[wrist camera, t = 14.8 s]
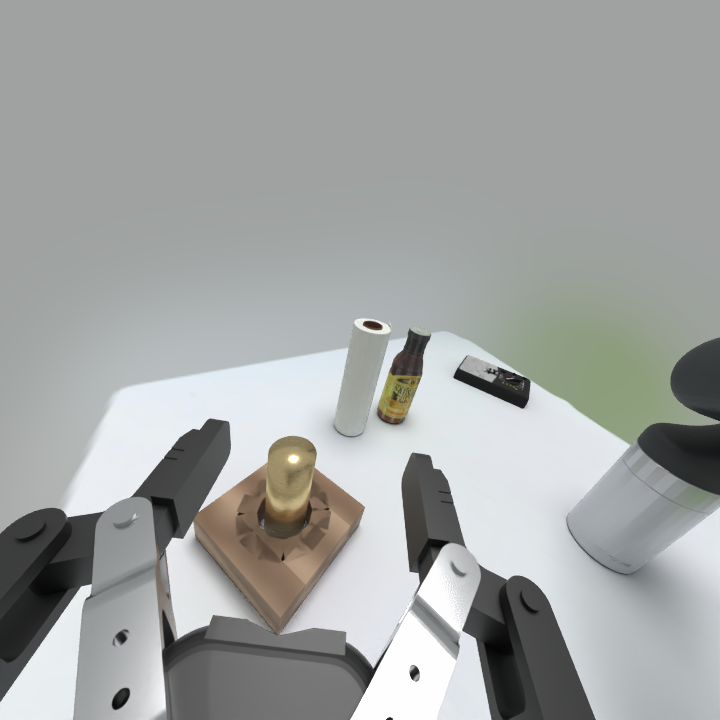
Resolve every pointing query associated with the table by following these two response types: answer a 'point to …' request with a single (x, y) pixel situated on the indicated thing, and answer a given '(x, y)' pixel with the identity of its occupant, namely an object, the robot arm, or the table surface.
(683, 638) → the table surface
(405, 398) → the sauce bottle
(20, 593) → the robot arm
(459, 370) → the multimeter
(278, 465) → the yellow cylinder peg
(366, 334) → the paper towel roll
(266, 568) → the jig
